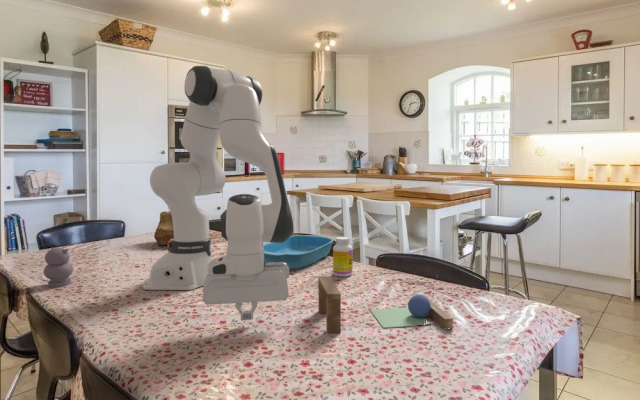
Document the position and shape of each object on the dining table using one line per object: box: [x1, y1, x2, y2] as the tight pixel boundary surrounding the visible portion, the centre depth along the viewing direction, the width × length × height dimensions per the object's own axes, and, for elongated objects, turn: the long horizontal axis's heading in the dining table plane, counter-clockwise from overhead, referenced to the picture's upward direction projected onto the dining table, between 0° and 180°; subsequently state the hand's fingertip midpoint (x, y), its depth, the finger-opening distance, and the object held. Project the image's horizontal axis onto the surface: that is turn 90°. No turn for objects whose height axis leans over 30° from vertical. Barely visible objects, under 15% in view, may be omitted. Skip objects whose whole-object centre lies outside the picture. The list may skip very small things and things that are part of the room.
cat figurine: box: [43, 247, 74, 289], centre depth 137 cm, size 8×8×12 cm
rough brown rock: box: [153, 210, 174, 246], centre depth 199 cm, size 23×17×15 cm
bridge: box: [317, 275, 342, 334], centre depth 105 cm, size 3×15×9 cm, turn 9°
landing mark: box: [369, 306, 431, 329], centre depth 108 cm, size 12×12×1 cm
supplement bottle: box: [332, 236, 353, 278], centre depth 147 cm, size 7×7×13 cm
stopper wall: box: [419, 293, 454, 329], centre depth 109 cm, size 2×18×2 cm, turn 9°
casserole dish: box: [263, 234, 334, 270], centre depth 168 cm, size 37×22×7 cm, turn 154°
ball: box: [407, 294, 431, 318], centre depth 108 cm, size 6×6×6 cm
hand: (247, 319), depth 103 cm, fingers closed
